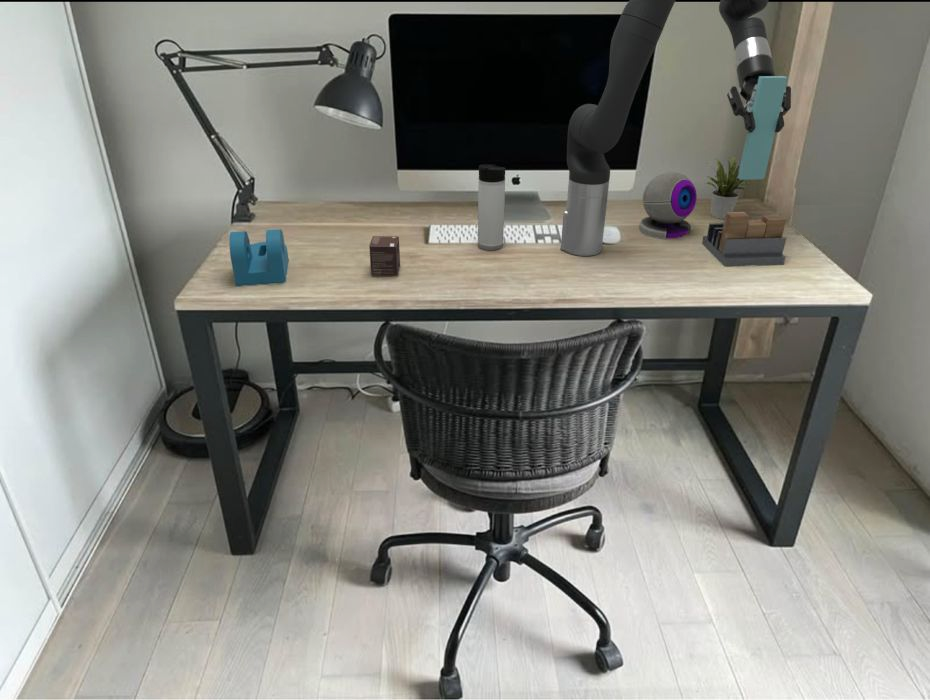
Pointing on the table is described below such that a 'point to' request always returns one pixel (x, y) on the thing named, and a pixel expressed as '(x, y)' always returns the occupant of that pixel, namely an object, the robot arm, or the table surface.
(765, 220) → the offcut stack
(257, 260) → the camera mount
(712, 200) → the house plant
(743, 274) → the table surface
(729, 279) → the table surface
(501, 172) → the travel mug
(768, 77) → the tall sheet
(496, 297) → the table surface
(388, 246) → the box
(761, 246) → the rack
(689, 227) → the webcam
